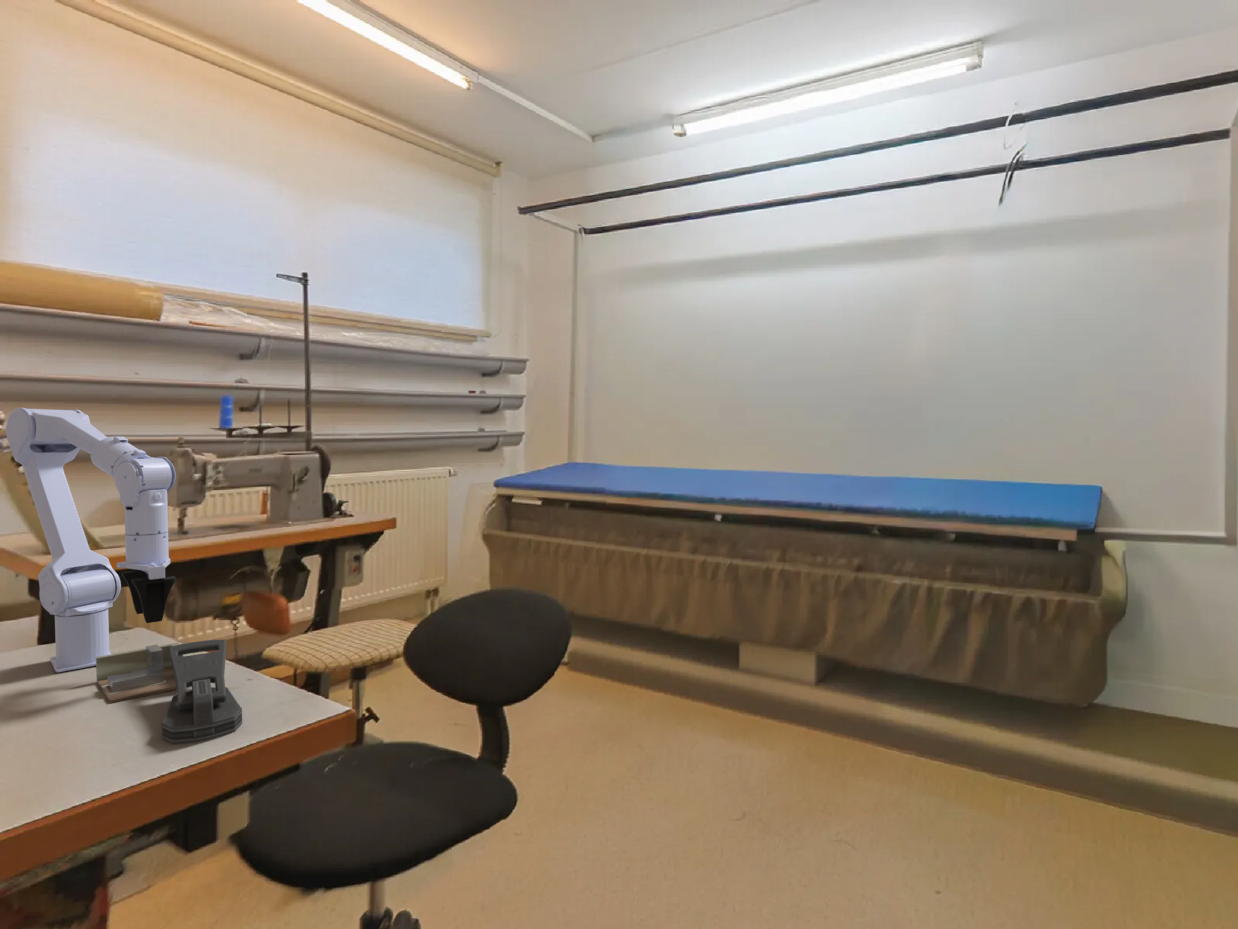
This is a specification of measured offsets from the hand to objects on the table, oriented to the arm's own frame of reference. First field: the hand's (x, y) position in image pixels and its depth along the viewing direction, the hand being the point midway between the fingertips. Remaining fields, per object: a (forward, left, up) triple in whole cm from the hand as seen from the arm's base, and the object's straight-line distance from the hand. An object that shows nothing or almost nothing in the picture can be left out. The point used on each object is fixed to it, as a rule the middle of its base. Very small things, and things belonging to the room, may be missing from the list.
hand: (149, 617), depth 113 cm
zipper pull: (+22, +2, -10) cm, 24 cm away
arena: (+4, -1, -9) cm, 10 cm away
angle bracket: (+5, -3, -9) cm, 11 cm away
